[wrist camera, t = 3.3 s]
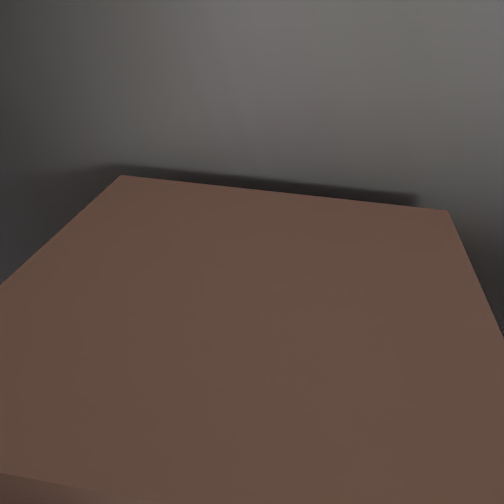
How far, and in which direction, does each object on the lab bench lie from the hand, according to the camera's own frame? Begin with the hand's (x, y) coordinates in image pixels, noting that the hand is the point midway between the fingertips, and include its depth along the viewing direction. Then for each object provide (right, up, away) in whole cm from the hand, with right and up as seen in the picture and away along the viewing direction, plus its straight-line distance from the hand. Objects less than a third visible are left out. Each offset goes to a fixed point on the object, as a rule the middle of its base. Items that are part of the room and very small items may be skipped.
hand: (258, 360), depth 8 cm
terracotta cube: (0, 0, +1) cm, 1 cm away
